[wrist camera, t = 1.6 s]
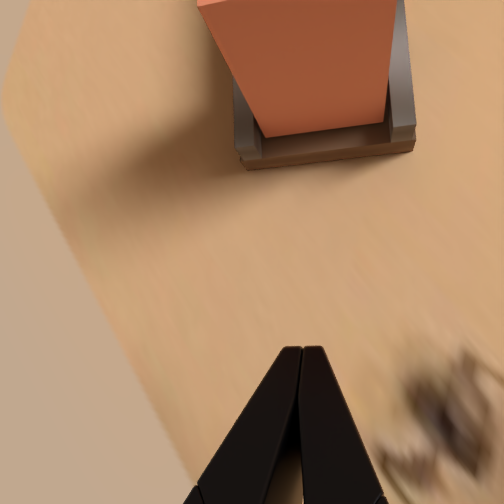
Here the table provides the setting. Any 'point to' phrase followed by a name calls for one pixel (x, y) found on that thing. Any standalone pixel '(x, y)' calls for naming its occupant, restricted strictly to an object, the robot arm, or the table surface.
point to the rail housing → (340, 139)
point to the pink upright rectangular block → (306, 59)
